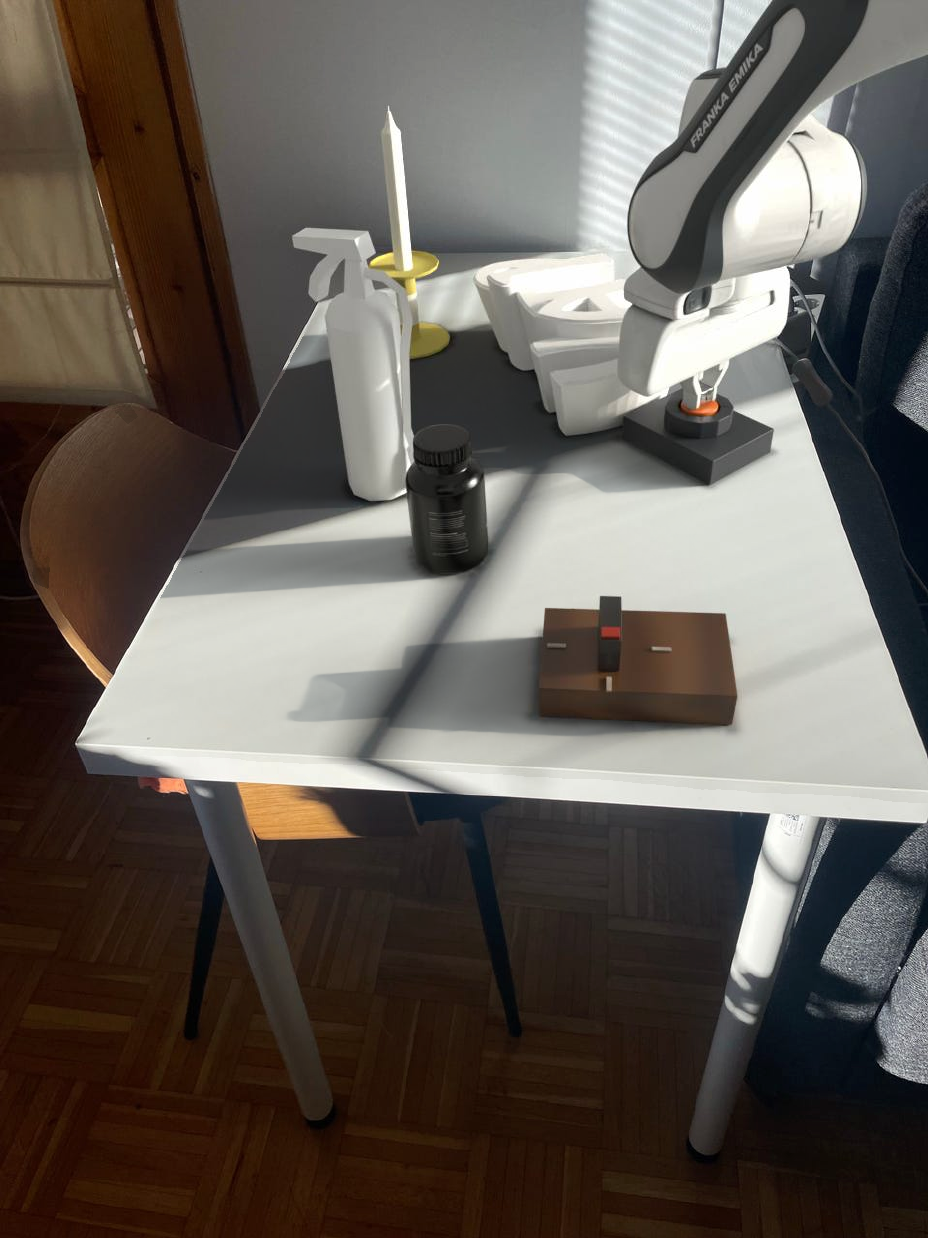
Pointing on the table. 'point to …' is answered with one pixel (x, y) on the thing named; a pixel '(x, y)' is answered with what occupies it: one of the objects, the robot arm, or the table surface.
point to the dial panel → (639, 668)
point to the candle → (406, 248)
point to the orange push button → (701, 410)
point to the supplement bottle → (446, 501)
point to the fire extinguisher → (366, 362)
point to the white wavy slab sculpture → (564, 335)
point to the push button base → (698, 437)
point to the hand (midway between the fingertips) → (698, 403)
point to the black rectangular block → (609, 633)
